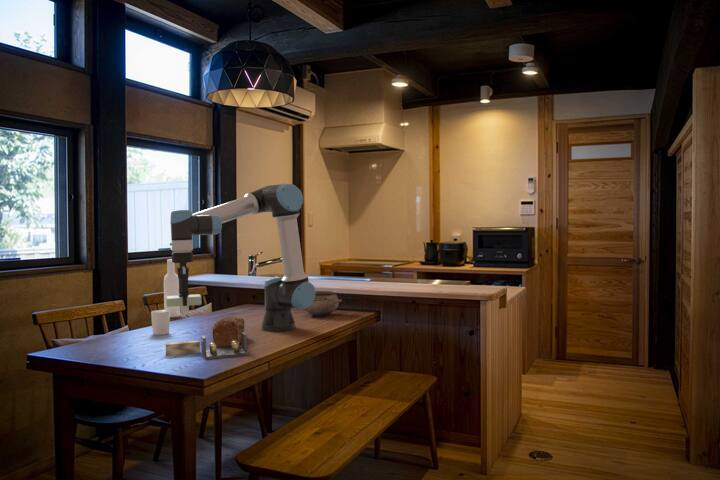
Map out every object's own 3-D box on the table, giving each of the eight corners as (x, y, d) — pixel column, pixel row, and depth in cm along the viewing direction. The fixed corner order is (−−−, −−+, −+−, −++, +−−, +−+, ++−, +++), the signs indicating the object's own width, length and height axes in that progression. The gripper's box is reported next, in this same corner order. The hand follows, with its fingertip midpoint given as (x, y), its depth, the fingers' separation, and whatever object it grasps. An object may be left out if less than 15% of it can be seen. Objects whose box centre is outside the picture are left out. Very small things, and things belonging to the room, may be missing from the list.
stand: (199, 350, 220) (198, 340, 219) (200, 352, 217) (199, 341, 217) (165, 354, 215) (165, 343, 215) (166, 355, 212) (165, 344, 212)
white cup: (164, 335, 252) (163, 312, 252) (148, 335, 254) (147, 312, 253) (173, 332, 260) (173, 309, 260) (157, 331, 261) (157, 309, 261)
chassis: (243, 348, 221) (242, 330, 221) (248, 355, 210) (248, 336, 210) (200, 352, 216) (200, 334, 216) (204, 359, 205) (203, 339, 204)
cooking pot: (289, 317, 296) (289, 293, 295) (310, 311, 312) (310, 289, 312) (331, 320, 283) (331, 295, 283) (350, 314, 300) (350, 290, 300)
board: (199, 302, 221) (199, 294, 221) (201, 304, 214) (201, 296, 214) (166, 304, 217) (166, 296, 217) (167, 307, 210) (167, 298, 209)
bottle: (171, 318, 300) (170, 260, 299) (161, 317, 304) (159, 259, 303) (183, 315, 307) (181, 259, 306) (173, 314, 311) (171, 258, 310)
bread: (239, 346, 226) (238, 321, 226) (211, 347, 226) (210, 322, 226) (245, 337, 245) (245, 313, 245) (220, 338, 244) (219, 314, 244)
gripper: (170, 251, 223) (172, 309, 224) (173, 253, 204) (175, 317, 204) (190, 250, 226) (192, 308, 227) (195, 252, 206) (197, 316, 207)
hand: (184, 312), depth 216 cm, fingers closed on board, 8 cm apart
